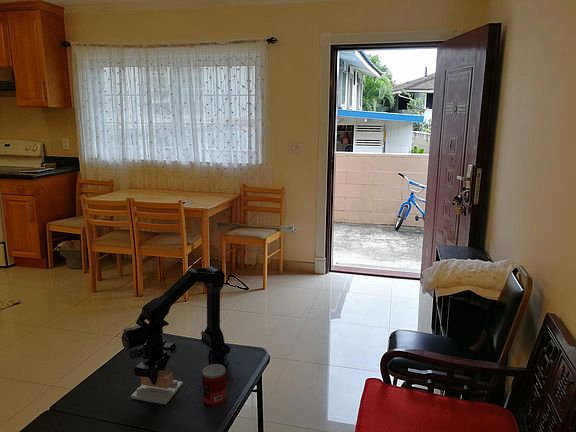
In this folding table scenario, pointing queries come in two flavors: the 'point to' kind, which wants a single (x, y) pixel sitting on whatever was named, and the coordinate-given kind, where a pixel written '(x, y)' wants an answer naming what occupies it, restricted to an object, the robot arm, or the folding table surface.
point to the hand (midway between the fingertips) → (157, 380)
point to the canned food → (214, 384)
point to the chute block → (160, 380)
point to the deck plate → (156, 393)
